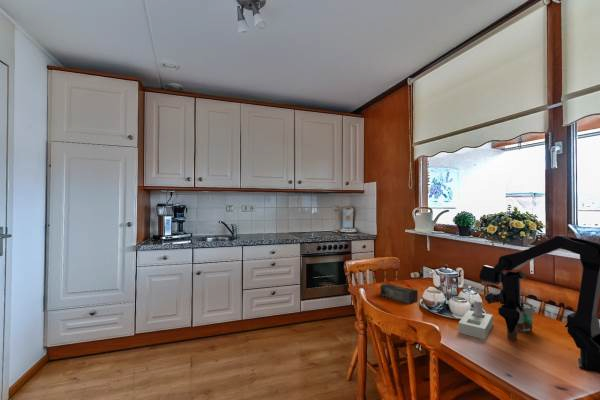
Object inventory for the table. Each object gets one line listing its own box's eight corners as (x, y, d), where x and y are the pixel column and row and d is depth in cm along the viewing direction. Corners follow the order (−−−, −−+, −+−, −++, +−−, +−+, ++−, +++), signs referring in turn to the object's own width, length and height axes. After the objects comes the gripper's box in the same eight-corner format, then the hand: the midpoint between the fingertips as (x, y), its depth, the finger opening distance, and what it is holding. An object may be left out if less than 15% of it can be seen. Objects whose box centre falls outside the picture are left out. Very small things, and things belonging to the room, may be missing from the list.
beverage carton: (388, 293, 165) (387, 281, 166) (418, 301, 150) (418, 289, 150) (379, 295, 161) (379, 284, 161) (410, 305, 145) (410, 292, 146)
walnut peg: (516, 340, 105) (516, 314, 106) (506, 338, 107) (506, 312, 108) (517, 337, 108) (516, 311, 108) (507, 335, 110) (507, 309, 110)
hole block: (485, 339, 107) (485, 328, 107) (458, 332, 113) (458, 322, 113) (492, 324, 120) (492, 315, 120) (468, 318, 126) (468, 310, 126)
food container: (543, 335, 109) (542, 309, 109) (525, 334, 110) (524, 308, 111) (524, 322, 121) (524, 299, 122) (508, 321, 123) (508, 298, 123)
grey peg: (482, 327, 118) (481, 303, 118) (473, 325, 120) (473, 301, 120) (483, 324, 120) (482, 301, 120) (475, 322, 122) (474, 299, 122)
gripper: (490, 279, 120) (491, 316, 120) (481, 289, 106) (482, 330, 106) (523, 283, 113) (524, 323, 112) (518, 295, 99) (520, 339, 99)
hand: (512, 328), depth 108 cm, fingers open, 9 cm apart
